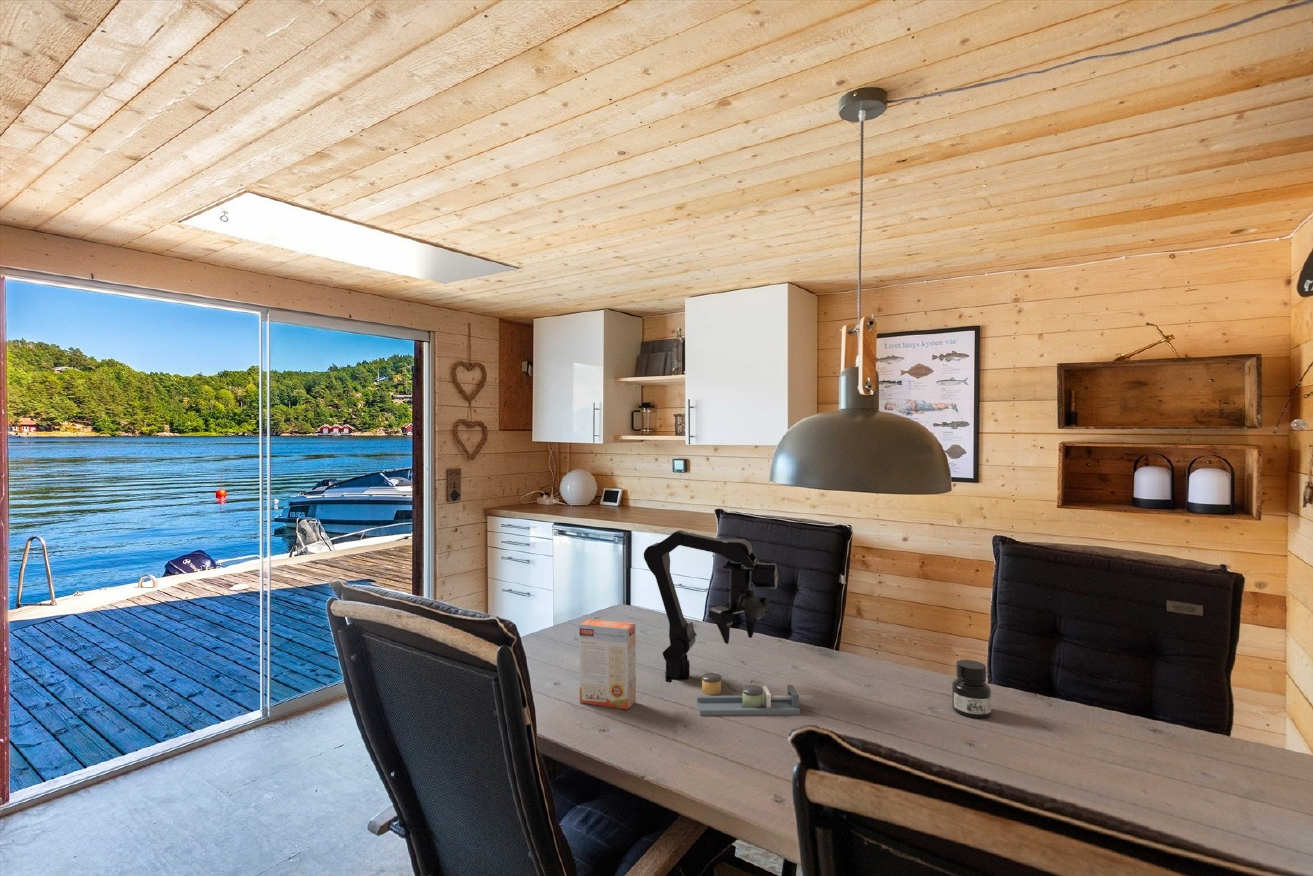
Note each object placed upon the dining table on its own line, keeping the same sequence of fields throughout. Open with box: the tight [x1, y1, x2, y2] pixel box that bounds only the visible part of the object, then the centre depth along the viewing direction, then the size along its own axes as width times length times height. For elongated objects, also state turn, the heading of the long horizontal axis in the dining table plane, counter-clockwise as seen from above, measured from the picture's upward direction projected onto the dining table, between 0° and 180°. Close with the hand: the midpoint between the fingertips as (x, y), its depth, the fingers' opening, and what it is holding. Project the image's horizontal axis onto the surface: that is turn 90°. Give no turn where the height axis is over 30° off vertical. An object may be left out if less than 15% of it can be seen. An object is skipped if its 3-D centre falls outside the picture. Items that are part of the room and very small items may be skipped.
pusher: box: [761, 685, 813, 708], centre depth 159 cm, size 12×6×4 cm, turn 91°
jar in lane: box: [741, 684, 763, 708], centre depth 159 cm, size 5×5×5 cm
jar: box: [701, 672, 722, 696], centre depth 169 cm, size 5×5×5 cm
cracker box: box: [578, 618, 637, 711], centre depth 163 cm, size 14×6×21 cm, turn 69°
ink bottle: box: [951, 659, 992, 719], centre depth 158 cm, size 10×9×12 cm
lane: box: [696, 684, 801, 716], centre depth 159 cm, size 25×9×5 cm, turn 91°
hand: (738, 640), depth 174 cm, fingers open, 9 cm apart
